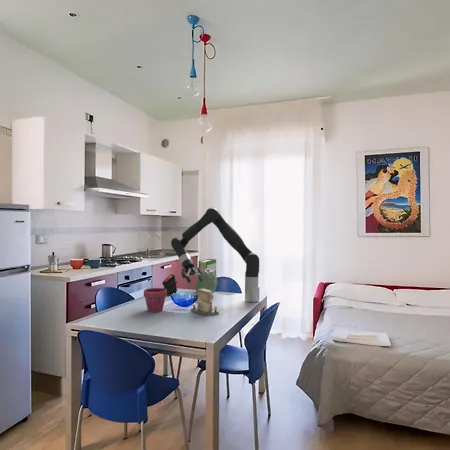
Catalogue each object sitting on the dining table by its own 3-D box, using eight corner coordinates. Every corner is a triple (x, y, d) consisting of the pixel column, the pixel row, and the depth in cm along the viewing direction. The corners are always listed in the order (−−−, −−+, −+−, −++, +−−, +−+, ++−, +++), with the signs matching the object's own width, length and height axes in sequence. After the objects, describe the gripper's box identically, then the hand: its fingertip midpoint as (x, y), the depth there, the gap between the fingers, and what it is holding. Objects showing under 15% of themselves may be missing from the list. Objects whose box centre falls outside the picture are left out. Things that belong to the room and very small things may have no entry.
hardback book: (206, 292, 282) (207, 261, 282) (198, 291, 285) (198, 260, 285) (216, 288, 299) (216, 259, 298) (207, 287, 302) (208, 258, 301)
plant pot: (149, 307, 232) (149, 287, 232) (170, 308, 229) (170, 288, 229) (139, 312, 218) (139, 291, 218) (161, 314, 215) (161, 292, 215)
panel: (203, 307, 225) (203, 288, 225) (212, 311, 217) (212, 291, 217) (197, 308, 223) (197, 289, 222) (206, 312, 214) (206, 291, 214)
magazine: (179, 290, 277) (174, 274, 272) (169, 301, 267) (164, 284, 261) (176, 290, 279) (170, 273, 274) (165, 300, 269) (160, 283, 263)
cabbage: (190, 297, 261) (190, 270, 261) (202, 293, 278) (203, 267, 278) (209, 299, 255) (209, 271, 254) (221, 295, 272) (221, 268, 271)
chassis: (204, 308, 229) (204, 301, 229) (219, 314, 216) (219, 306, 216) (190, 310, 223) (190, 303, 223) (204, 316, 210) (205, 308, 210)
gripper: (179, 259, 235) (188, 279, 226) (197, 257, 244) (207, 276, 235) (175, 266, 240) (184, 286, 231) (193, 264, 248) (202, 283, 239)
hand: (195, 281), depth 233 cm, fingers open, 8 cm apart
